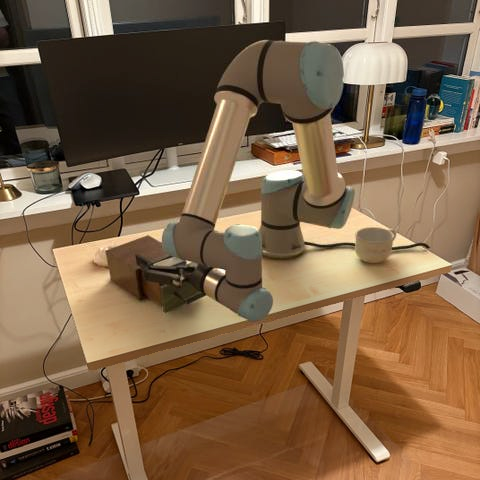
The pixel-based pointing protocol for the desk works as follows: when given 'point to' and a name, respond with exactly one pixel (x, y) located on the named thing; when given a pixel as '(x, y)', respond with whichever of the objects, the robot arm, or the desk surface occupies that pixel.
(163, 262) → the medicine box
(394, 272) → the desk surface
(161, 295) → the drawer
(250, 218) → the desk surface
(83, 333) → the desk surface
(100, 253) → the rose
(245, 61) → the robot arm
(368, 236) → the teacup
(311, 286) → the desk surface
